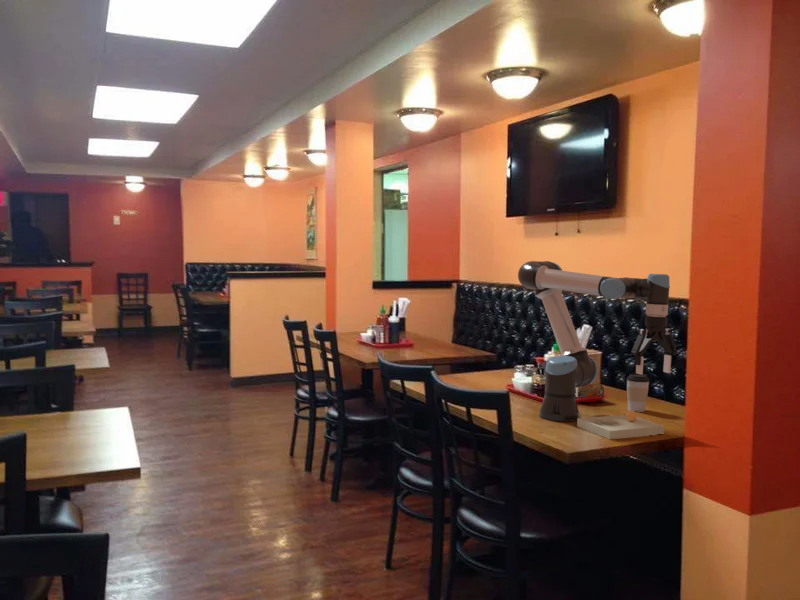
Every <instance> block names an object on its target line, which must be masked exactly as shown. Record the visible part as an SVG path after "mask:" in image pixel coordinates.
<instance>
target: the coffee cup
mask: <svg viewBox="0 0 800 600" xmlns="http://www.w3.org/2000/svg"><path fill="white" fill-rule="evenodd" d="M647 375H648V374H642V375H641V374H637V373H631V374H629V376H627V378H626V398H627V411H630V410H632V411H634V412H635V411H637V412H636V413H638V412H639V413H643V412H645V411H646V404H647V401H648V393H649V385H650V381H651V380H650V378H649V377H648V376H647Z"/></svg>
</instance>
